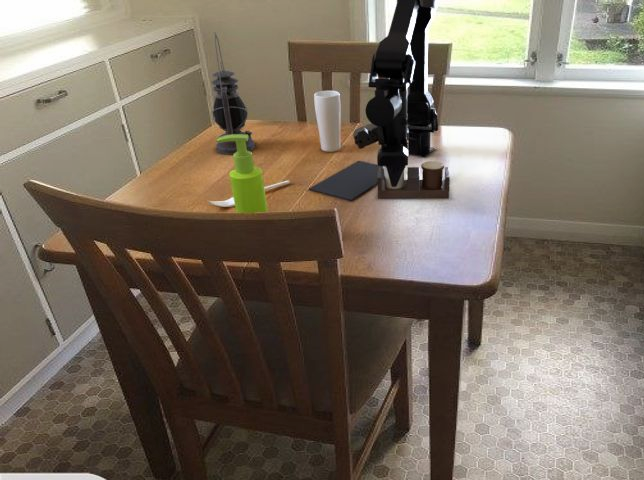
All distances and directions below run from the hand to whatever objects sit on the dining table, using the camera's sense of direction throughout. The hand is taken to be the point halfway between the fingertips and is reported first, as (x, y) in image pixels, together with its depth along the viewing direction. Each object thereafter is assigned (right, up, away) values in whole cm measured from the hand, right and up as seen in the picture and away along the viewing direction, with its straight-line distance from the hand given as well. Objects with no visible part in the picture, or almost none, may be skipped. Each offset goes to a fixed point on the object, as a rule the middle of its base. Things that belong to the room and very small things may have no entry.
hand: (394, 181), depth 119 cm
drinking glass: (-17, +12, +27) cm, 34 cm away
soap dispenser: (-28, -12, -14) cm, 34 cm away
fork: (-32, -3, +2) cm, 32 cm away
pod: (+8, -1, 0) cm, 8 cm away
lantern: (-43, +13, +29) cm, 54 cm away
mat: (-9, +2, +8) cm, 12 cm away
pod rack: (+4, -2, +1) cm, 5 cm away
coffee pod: (0, -1, 0) cm, 1 cm away
